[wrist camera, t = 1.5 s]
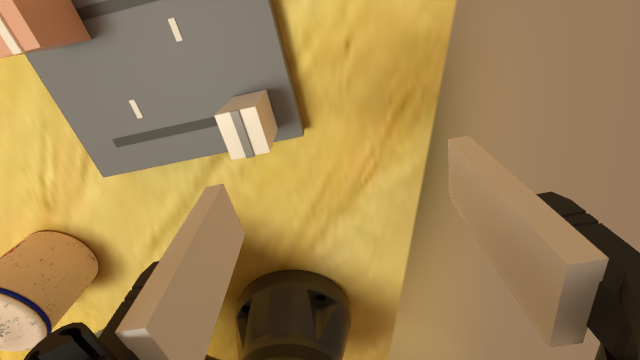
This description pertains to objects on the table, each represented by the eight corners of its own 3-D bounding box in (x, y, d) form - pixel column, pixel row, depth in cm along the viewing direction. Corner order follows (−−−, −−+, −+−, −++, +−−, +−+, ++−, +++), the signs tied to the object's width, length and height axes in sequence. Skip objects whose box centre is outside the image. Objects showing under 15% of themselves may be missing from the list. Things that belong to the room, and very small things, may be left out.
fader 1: (92, 40, 24) (38, 48, 19) (57, 49, 24) (-4, 59, 20) (63, -14, 22) (-2, -19, 18) (26, -4, 23) (-48, -6, 18)
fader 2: (278, 129, 27) (269, 153, 23) (245, 136, 28) (231, 161, 23) (266, 88, 26) (254, 106, 21) (231, 96, 26) (213, 115, 22)
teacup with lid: (17, 218, 35) (-106, 305, 25) (103, 240, 37) (19, 330, 26) (27, 288, 41) (-71, 383, 30) (101, 305, 42) (31, 400, 32)
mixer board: (304, 128, 30) (303, 136, 28) (115, 168, 32) (102, 178, 30) (251, -81, 22) (245, -89, 20) (7, -11, 24) (-19, -12, 22)
